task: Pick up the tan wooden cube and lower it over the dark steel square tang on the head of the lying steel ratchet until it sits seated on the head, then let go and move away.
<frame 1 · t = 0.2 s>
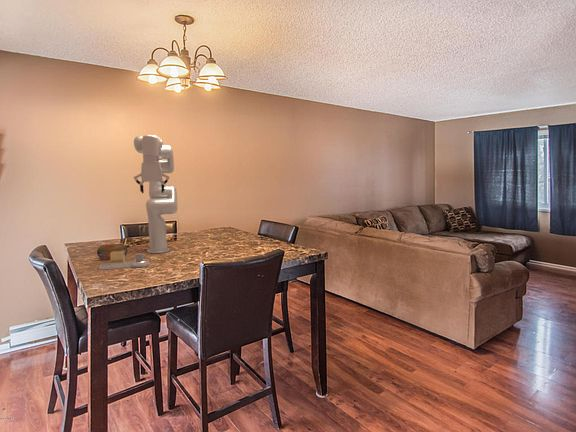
hand: (152, 192, 188), 36 cm above the table, tool pointing down, fingers open, 9 cm apart
ratchet: (139, 265, 183), on the table
tan wooden cube: (118, 263, 187), on the table
tin: (113, 259, 197), on the table
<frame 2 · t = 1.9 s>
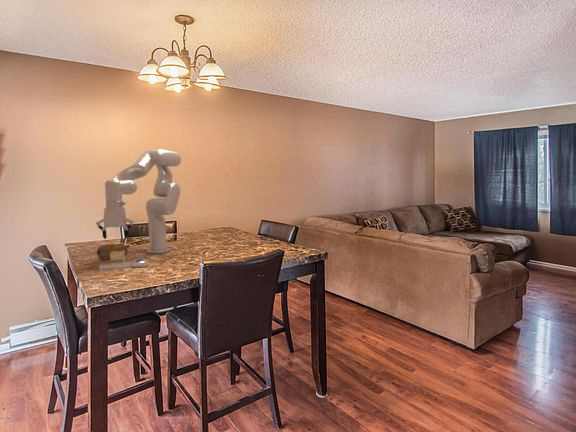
hand: (115, 238, 185), 13 cm above the table, tool pointing down, fingers open, 9 cm apart
nothing on the table moved.
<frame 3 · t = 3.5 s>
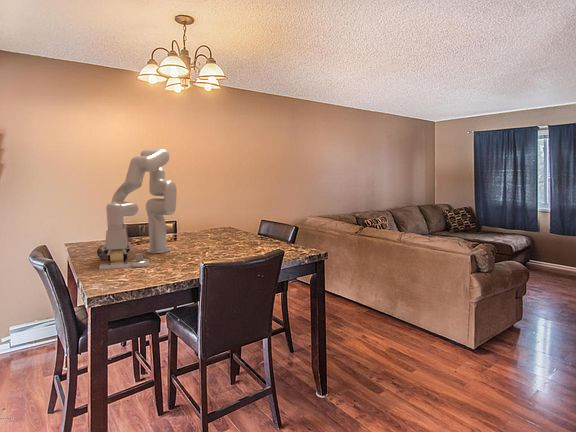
hand: (117, 261, 187), 1 cm above the table, tool pointing down, fingers closed on tan wooden cube, 6 cm apart
tan wooden cube: (118, 263, 187), on the table, touching gripper
everything else where it was.
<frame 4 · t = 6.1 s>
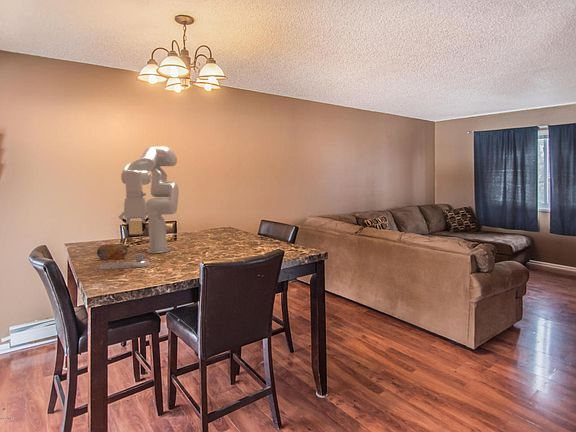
hand: (136, 231, 181), 18 cm above the table, tool pointing down, fingers closed on tan wooden cube, 6 cm apart
tan wooden cube: (136, 233, 181), point 17 cm above the table, touching gripper
everything else where it was.
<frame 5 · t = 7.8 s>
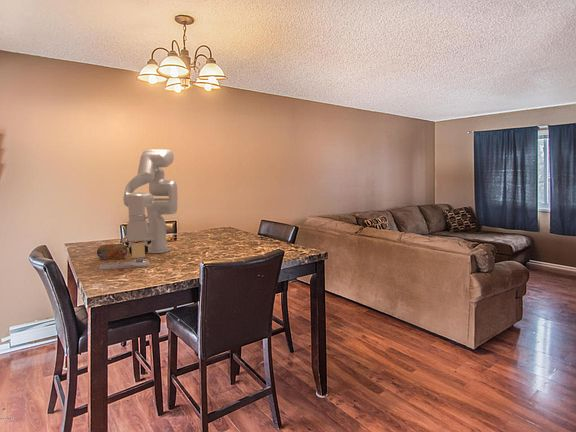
hand: (138, 253, 182), 6 cm above the table, tool pointing down, fingers closed on tan wooden cube, 6 cm apart
tan wooden cube: (139, 256, 182), point 5 cm above the table, touching gripper
everything else where it was.
when the fingers open (5 cm above the table, at t = 9.0 s): tan wooden cube stays where it is, resting on ratchet.
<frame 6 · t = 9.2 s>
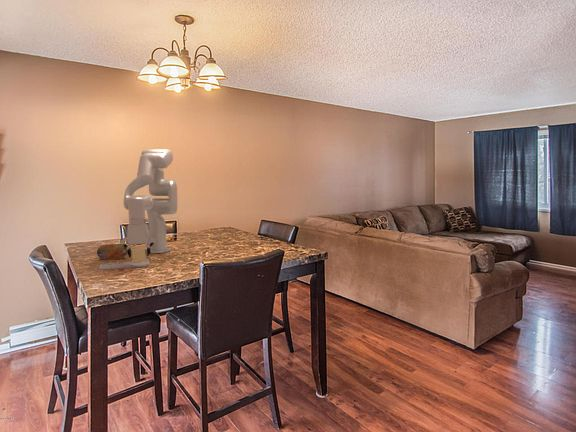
hand: (139, 256, 182), 5 cm above the table, tool pointing down, fingers open, 8 cm apart
ratchet: (139, 265, 183), on the table, touching tan wooden cube
tan wooden cube: (139, 260, 183), point 2 cm above the table, touching ratchet
everything else where it was.
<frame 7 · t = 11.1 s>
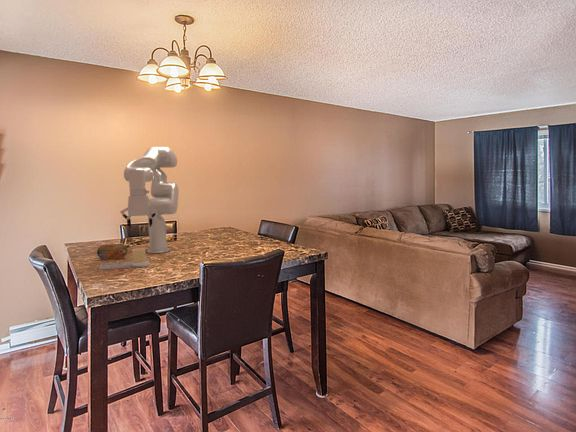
hand: (140, 226, 183), 19 cm above the table, tool pointing down, fingers open, 9 cm apart
nothing on the table moved.
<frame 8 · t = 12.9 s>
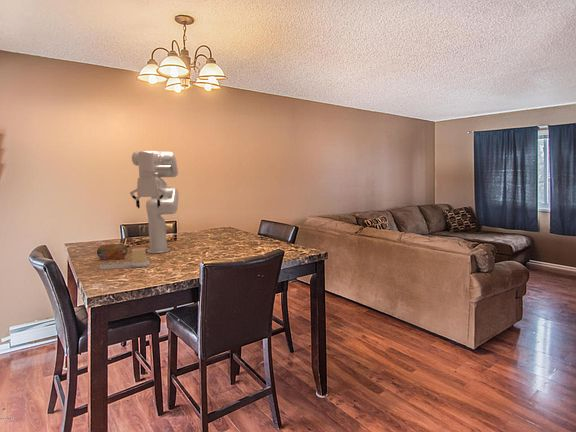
hand: (148, 207, 190), 28 cm above the table, tool pointing down, fingers open, 9 cm apart
nothing on the table moved.
at the end: tan wooden cube 0.2 cm off-centre on the ratchet, point 2.5 cm above the ratchet's base; tan wooden cube tilted 0°; ratchet moved 0.1 cm from its start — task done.
